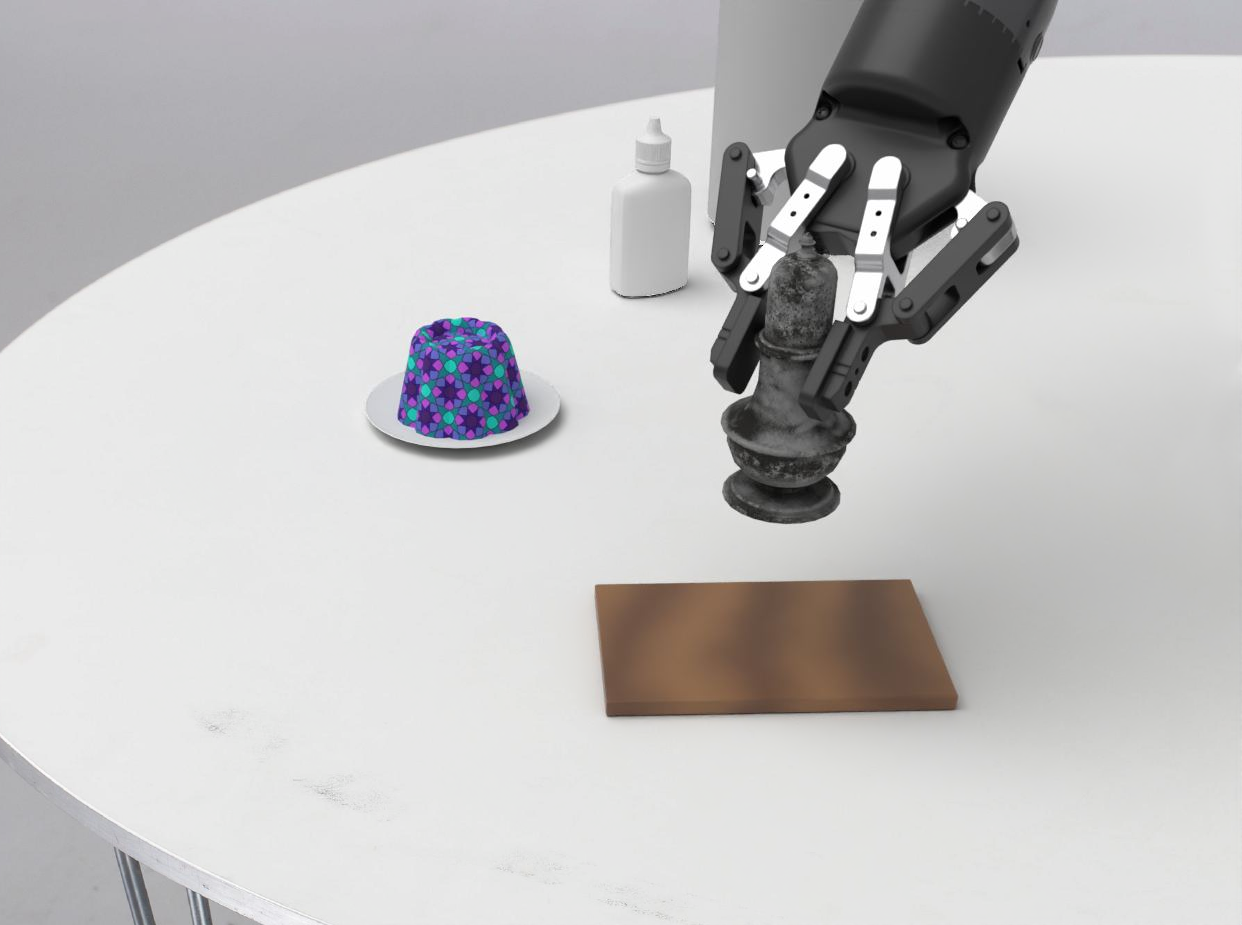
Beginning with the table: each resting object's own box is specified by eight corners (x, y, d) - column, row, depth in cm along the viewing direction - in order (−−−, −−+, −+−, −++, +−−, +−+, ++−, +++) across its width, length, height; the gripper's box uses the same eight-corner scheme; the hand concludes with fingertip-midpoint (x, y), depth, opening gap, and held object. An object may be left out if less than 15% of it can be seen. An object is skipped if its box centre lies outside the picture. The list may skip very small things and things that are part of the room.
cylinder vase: (690, 241, 118) (709, -122, 104) (726, 191, 128) (748, -148, 113) (851, 259, 115) (895, -112, 100) (876, 206, 125) (920, -140, 110)
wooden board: (908, 591, 78) (910, 578, 78) (956, 710, 70) (958, 695, 70) (594, 597, 78) (594, 583, 77) (606, 716, 70) (606, 702, 69)
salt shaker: (868, 485, 70) (905, 224, 62) (812, 541, 66) (844, 270, 58) (752, 451, 72) (775, 197, 65) (691, 503, 68) (708, 240, 61)
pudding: (345, 388, 97) (338, 309, 94) (524, 361, 101) (523, 284, 98) (392, 473, 88) (387, 389, 85) (588, 441, 91) (589, 359, 88)
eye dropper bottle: (610, 275, 113) (614, 107, 106) (686, 277, 112) (695, 108, 105) (607, 298, 109) (611, 126, 102) (686, 300, 109) (696, 127, 102)
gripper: (774, -45, 65) (596, 317, 65) (1095, 4, 58) (897, 411, 58) (823, 60, 72) (662, 390, 71) (1118, 115, 65) (941, 482, 64)
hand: (769, 397), depth 64 cm, fingers closed on salt shaker, 3 cm apart
